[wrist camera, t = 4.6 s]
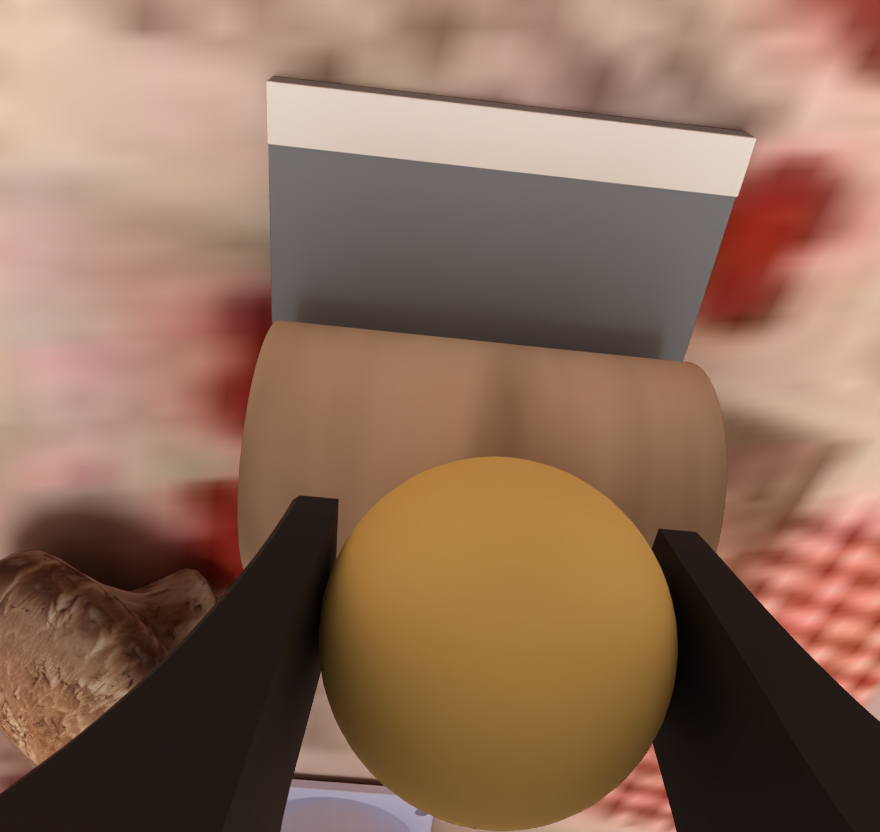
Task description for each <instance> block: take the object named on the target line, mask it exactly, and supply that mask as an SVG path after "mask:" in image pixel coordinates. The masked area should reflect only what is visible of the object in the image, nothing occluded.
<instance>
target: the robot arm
mask: <svg viewBox="0 0 880 832" xmlns="http://www.w3.org/2000/svg"><path fill="white" fill-rule="evenodd" d="M338 505H339V499H335V498H324V497H313V496H302V495H299V496H298V497H296V498H295V499H293V500H292V502H291V503H290V505H289V507H288V508H287V510H286V512H285V513H284V515H283V516H282V518H281V520H280V521H279V523H278V524H277V526H276V527H275V529H274V530H273V532H272V533H271V534H270V536H269V537H268V539H267V540H266V541H265V543H264V544H263V545H262V547H261V548H260V550H259V551H258V552H257V554H256V555H255V556H254V558H253V559H252V560H251V561H250V563H249V564H248V565H247V566H246V568H245V569H244V570H243V571H242V573H241V574H240V575H239V576H238V578H237V579H236V580H235V581H234V583H233V584H232V585H231V586H230V588H229V589H228V590H227V591H226V592H225V594H224V595H223V596H222V597H221V598H220V599H219V601H218V602H217V603H216V604H215V605H214V606H213V607H212V608H211V609H210V611H209V612H208V613H207V614H206V615H205V616H204V617H203V618H202V619H201V621H200V622H199V623H198V624H197V625H196V626H195V627H194V628H193V629H192V631H191V632H190V633H189V634H188V635H187V636H186V637H185V638H184V639H183V640H182V641H181V642H180V643H179V644H178V645H177V646H176V647H175V648H174V649H173V650H172V651H171V652H170V653H169V654H168V655H167V656H166V657H165V658H164V659H163V660H162V661H161V662H160V663H159V664H158V665H157V666H156V667H155V668H154V669H153V670H152V671H151V672H150V673H149V674H147V675H146V676H145V677H144V678H143V679H142V680H141V681H140V682H139V683H138V684H137V685H136V686H135V687H133V688H132V689H131V690H130V691H129V692H128V693H127V694H125V695H124V696H123V697H122V698H121V699H120V700H119V701H117V702H116V703H115V704H114V705H113V706H112V707H111V708H109V709H108V710H107V711H106V712H105V713H104V714H102V715H101V716H100V717H99V718H98V719H97V720H96V721H94V722H93V723H92V724H91V725H90V726H88V727H87V728H86V729H85V730H83V731H82V732H81V733H80V734H79V735H77V736H76V737H75V738H74V739H72V740H71V741H70V742H69V743H67V744H66V745H65V746H63V747H62V748H61V749H59V750H58V751H57V752H55V753H54V754H53V755H51V756H50V757H49V758H47V759H46V760H45V761H43V762H42V763H41V764H39V765H38V766H37V767H35V768H34V769H33V770H31V771H30V772H29V773H27V774H26V775H25V776H23V777H22V778H21V779H19V780H18V781H17V782H15V783H14V784H13V785H11V786H10V787H9V788H7V789H6V790H5V791H3V792H2V793H1V794H0V832H431V827H432V821H433V816H432V815H429V814H427V813H425V812H423V811H421V810H419V809H417V808H415V807H413V806H411V805H410V804H408V803H407V802H405V801H403V800H402V799H401V798H400V797H398V796H397V795H396V794H394V793H393V792H392V791H391V790H389V789H388V788H387V787H386V786H377V785H364V784H351V783H338V782H325V781H311V780H298V779H292V778H293V774H294V771H295V767H296V763H297V759H298V756H299V752H300V748H301V744H302V741H303V737H304V733H305V729H306V726H307V722H308V718H309V714H310V711H311V707H312V703H313V699H314V695H315V692H316V688H317V684H318V680H319V676H320V673H321V667H320V657H319V623H320V614H321V607H322V601H323V596H324V592H325V589H326V586H327V582H328V579H329V576H330V573H331V570H332V567H333V565H334V563H335V561H336V554H337V529H338ZM651 550H652V551H653V553H654V555H655V557H656V559H657V561H658V563H659V565H660V567H661V569H662V572H663V574H664V577H665V579H666V582H667V585H668V588H669V591H670V595H671V598H672V602H673V607H674V612H675V617H676V625H677V636H678V659H677V670H676V677H675V683H674V690H673V693H672V697H671V700H670V703H669V706H668V709H667V712H666V715H665V718H664V721H663V724H662V726H661V728H660V729H659V731H658V733H657V735H656V737H655V739H654V741H653V746H654V749H655V753H656V757H657V760H658V764H659V767H660V771H661V775H662V778H663V782H664V786H665V789H666V793H667V796H668V800H669V804H670V807H671V811H672V815H673V818H674V822H675V827H676V831H677V832H880V721H878V720H877V719H876V718H875V717H874V716H873V715H871V714H870V713H869V712H868V711H867V710H866V709H865V708H864V707H863V706H862V705H860V704H859V703H858V702H857V701H856V700H855V699H854V698H853V697H852V696H851V695H850V694H849V693H848V692H847V691H846V690H844V689H843V688H842V687H841V686H840V685H839V684H838V683H837V682H836V681H835V680H834V679H833V678H832V677H831V676H830V675H829V674H828V673H827V672H826V671H825V670H824V669H823V668H822V667H821V666H820V665H819V664H818V663H817V662H816V661H815V660H814V659H813V658H812V657H811V656H810V655H809V654H808V653H807V652H806V651H805V650H804V649H803V648H802V647H801V646H800V645H799V644H798V643H797V642H796V641H795V640H794V639H793V638H792V637H791V636H790V634H789V633H788V632H787V631H786V630H785V629H784V628H783V627H782V626H781V625H780V624H779V623H778V622H777V621H776V619H775V618H774V617H773V616H772V615H771V614H770V613H769V612H768V611H767V610H766V609H765V608H764V606H763V605H762V604H761V603H760V602H759V601H758V600H757V599H756V598H755V596H754V595H753V594H752V593H751V592H750V591H749V590H748V589H747V588H746V586H745V585H744V584H743V583H742V582H741V581H740V580H739V579H738V577H737V576H736V575H735V574H734V573H733V572H732V571H731V569H730V568H729V567H728V566H727V565H726V564H725V563H724V562H723V560H722V559H721V558H720V557H719V556H718V555H717V554H716V553H715V551H714V550H713V549H712V548H711V547H710V546H709V545H708V544H707V543H706V541H705V540H704V539H703V538H702V537H701V536H700V535H699V534H698V533H697V532H691V531H681V530H670V529H658V532H657V535H656V538H655V540H654V543H653V546H652V549H651Z"/></svg>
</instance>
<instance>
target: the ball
mask: <svg viewBox="0 0 880 832" xmlns="http://www.w3.org/2000/svg"><path fill="white" fill-rule="evenodd" d="M319 657H320V667H321V672H322V678H323V683H324V687H325V691H326V694H327V698H328V701H329V703H330V706H331V709H332V712H333V714H334V717H335V719H336V721H337V723H338V725H339V727H340V729H341V731H342V733H343V735H344V736H345V738H346V740H347V742H348V743H349V745H350V747H351V748H352V750H353V751H354V752H355V754H356V755H357V757H358V758H359V759H360V760H361V762H362V763H363V764H364V765H365V766H366V768H367V769H368V770H369V771H370V772H371V773H372V774H373V775H374V776H375V777H376V778H377V779H378V780H379V782H381V783H382V784H383V785H384V786H386V787H387V788H388V789H389V790H391V791H392V792H393V793H394V794H396V795H397V796H398V797H400V798H401V799H402V800H403V801H405V802H407V803H408V804H410V805H411V806H413V807H415V808H417V809H419V810H421V811H423V812H425V813H427V814H429V815H432V816H434V817H436V818H438V819H441V820H444V821H446V822H449V823H452V824H456V825H459V826H464V827H468V828H473V829H481V830H493V831H513V830H524V829H530V828H536V827H541V826H545V825H549V824H552V823H555V822H558V821H560V820H563V819H565V818H567V817H570V816H572V815H574V814H577V813H579V812H581V811H583V810H585V809H587V808H589V807H590V806H592V805H594V804H595V803H596V802H598V801H599V800H601V799H602V798H603V797H605V796H606V795H607V794H608V793H610V792H611V791H612V790H614V789H615V788H616V787H617V786H618V785H620V784H621V783H622V782H623V781H624V780H625V779H626V778H627V777H628V775H629V774H630V773H631V772H632V771H633V769H634V768H635V767H636V766H637V765H638V764H639V762H640V761H641V760H642V758H643V757H644V756H645V754H646V753H647V751H648V750H649V748H650V746H651V744H652V742H653V741H654V739H655V737H656V735H657V733H658V731H659V729H660V728H661V726H662V724H663V721H664V718H665V715H666V712H667V709H668V706H669V703H670V700H671V697H672V693H673V690H674V683H675V677H676V670H677V659H678V636H677V625H676V617H675V612H674V607H673V602H672V598H671V595H670V591H669V588H668V585H667V582H666V579H665V577H664V574H663V572H662V569H661V567H660V565H659V563H658V561H657V559H656V557H655V555H654V553H653V551H652V550H651V548H650V546H649V545H648V543H647V542H646V540H645V538H644V537H643V535H642V534H641V533H640V531H639V530H638V529H637V527H636V526H635V525H634V523H633V522H632V521H631V520H630V519H629V518H628V517H627V516H626V515H625V514H624V513H623V512H622V511H621V510H620V509H619V508H618V507H617V506H616V505H615V504H614V503H613V502H612V501H611V500H610V499H609V498H607V497H606V496H605V495H603V494H602V493H601V492H599V491H598V490H596V489H595V488H594V487H592V486H591V485H589V484H588V483H586V482H584V481H583V480H581V479H579V478H577V477H575V476H573V475H572V474H570V473H568V472H565V471H562V470H560V469H557V468H555V467H552V466H549V465H545V464H542V463H538V462H534V461H530V460H525V459H519V458H512V457H495V456H492V457H475V458H469V459H463V460H458V461H454V462H451V463H447V464H444V465H440V466H437V467H434V468H432V469H429V470H427V471H424V472H422V473H420V474H418V475H416V476H414V477H412V478H410V479H409V480H407V481H405V482H403V483H402V484H401V485H399V486H398V487H397V488H395V489H394V490H392V491H391V492H390V493H388V494H387V495H386V496H384V497H383V498H382V499H380V500H379V501H378V502H377V503H376V504H375V505H374V506H373V507H372V508H371V509H370V510H369V511H368V512H367V514H366V515H365V516H364V517H363V518H362V519H361V521H360V522H359V523H358V524H357V526H356V527H355V528H354V530H353V531H352V532H351V534H350V535H349V537H348V538H347V540H346V542H345V544H344V546H343V547H342V549H341V551H340V553H339V555H338V557H337V559H336V561H335V563H334V565H333V567H332V570H331V573H330V576H329V579H328V582H327V586H326V589H325V592H324V596H323V601H322V607H321V614H320V623H319Z"/></svg>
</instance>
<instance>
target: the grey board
mask: <svg viewBox="0 0 880 832" xmlns="http://www.w3.org/2000/svg"><path fill="white" fill-rule="evenodd" d="M266 89H267V140H268V144H269V191H270V244H271V297H272V325H273V323H274V322H276V321H277V320H281V321H291V322H300V323H310V324H320V325H330V326H339V327H349V328H359V329H369V330H378V331H388V332H398V333H408V334H417V335H427V336H437V337H446V338H456V339H466V340H476V341H485V342H495V343H505V344H515V345H524V346H534V347H544V348H554V349H563V350H573V351H583V352H593V353H602V354H612V355H622V356H632V357H641V358H651V359H661V360H670V361H680V362H683V359H684V356H685V353H686V350H687V347H688V344H689V341H690V337H691V334H692V331H693V328H694V325H695V322H696V319H697V316H698V313H699V309H700V306H701V303H702V300H703V297H704V294H705V291H706V288H707V285H708V282H709V278H710V275H711V272H712V269H713V266H714V263H715V260H716V257H717V254H718V251H719V247H720V244H721V241H722V238H723V235H724V232H725V229H726V226H727V223H728V219H729V216H730V213H731V210H732V207H733V204H734V201H735V198H736V197H738V194H739V191H740V188H741V185H742V182H743V179H744V176H745V173H746V170H747V167H748V164H749V160H750V157H751V154H752V151H753V148H754V145H755V142H756V138H755V137H753V136H752V135H750V134H749V133H747V132H745V131H738V130H729V129H721V128H712V127H704V126H695V125H686V124H678V123H669V122H661V121H652V120H644V119H635V118H627V117H618V116H610V115H601V114H592V113H584V112H575V111H567V110H558V109H550V108H541V107H533V106H524V105H516V104H507V103H498V102H490V101H481V100H473V99H464V98H456V97H447V96H439V95H430V94H421V93H413V92H404V91H396V90H387V89H379V88H370V87H362V86H353V85H345V84H336V83H327V82H319V81H310V80H302V79H293V78H285V77H276V76H273V77H272V78H270V79H269V80H268V81H266Z"/></svg>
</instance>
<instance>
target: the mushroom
mask: <svg viewBox="0 0 880 832" xmlns="http://www.w3.org/2000/svg"><path fill="white" fill-rule="evenodd" d="M216 603H217V600H216V597H215V595H214V593H213V591H212V588H211V586H210V584H209V582H208V581H207V580H206V579H205V578H204V577H203V576H202V575H201V573H200V572H199V571H198V570H193V569H188V568H184V569H182V570H179V571H177V572H175V573H173V574H171V575H169V576H166V577H164V578H162V579H160V580H158V581H156V582H153V583H151V584H149V585H147V586H144V587H141V588H138V589H135V590H132V591H124V590H121V589H117V588H114V587H110V586H107V585H104V584H101V583H100V582H98V581H96V580H94V579H92V578H91V577H89V576H87V575H85V574H83V573H82V572H80V571H79V570H77V569H75V568H74V567H72V566H71V565H69V564H68V563H66V562H64V561H63V560H61V559H60V558H58V557H55V556H53V555H50V554H47V553H45V552H42V551H27V552H21V553H15V554H12V555H10V556H8V557H6V558H4V559H2V560H0V731H1V732H2V734H3V735H4V736H5V737H6V738H7V739H8V740H9V741H10V743H11V744H12V745H13V746H14V747H15V748H16V749H17V750H18V751H19V752H20V753H21V754H22V755H23V757H24V758H25V759H26V760H27V761H28V762H29V763H30V764H31V765H32V766H33V767H34V768H35V767H37V766H38V765H39V764H41V763H42V762H43V761H45V760H46V759H47V758H49V757H50V756H51V755H53V754H54V753H55V752H57V751H58V750H59V749H61V748H62V747H63V746H65V745H66V744H67V743H69V742H70V741H71V740H72V739H74V738H75V737H76V736H77V735H79V734H80V733H81V732H82V731H83V730H85V729H86V728H87V727H88V726H90V725H91V724H92V723H93V722H94V721H96V720H97V719H98V718H99V717H100V716H101V715H102V714H104V713H105V712H106V711H107V710H108V709H109V708H111V707H112V706H113V705H114V704H115V703H116V702H117V701H119V700H120V699H121V698H122V697H123V696H124V695H125V694H127V693H128V692H129V691H130V690H131V689H132V688H133V687H135V686H136V685H137V684H138V683H139V682H140V681H141V680H142V679H143V678H144V677H145V676H146V675H147V674H149V673H150V672H151V671H152V670H153V669H154V668H155V667H156V666H157V665H158V664H159V663H160V662H161V661H162V660H163V659H164V658H165V657H166V656H167V655H168V654H169V653H170V652H171V651H172V650H173V649H174V648H175V647H176V646H177V645H178V644H179V643H180V642H181V641H182V640H183V639H184V638H185V637H186V636H187V635H188V634H189V633H190V632H191V631H192V629H193V628H194V627H195V626H196V625H197V624H198V623H199V622H200V621H201V619H202V618H203V617H204V616H205V615H206V614H207V613H208V612H209V611H210V609H211V608H212V607H213V606H214V605H215V604H216Z"/></svg>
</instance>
